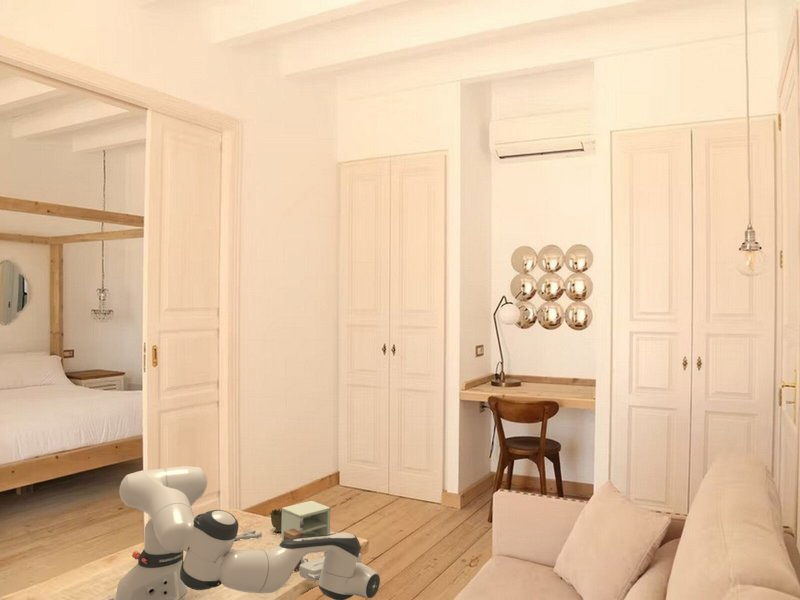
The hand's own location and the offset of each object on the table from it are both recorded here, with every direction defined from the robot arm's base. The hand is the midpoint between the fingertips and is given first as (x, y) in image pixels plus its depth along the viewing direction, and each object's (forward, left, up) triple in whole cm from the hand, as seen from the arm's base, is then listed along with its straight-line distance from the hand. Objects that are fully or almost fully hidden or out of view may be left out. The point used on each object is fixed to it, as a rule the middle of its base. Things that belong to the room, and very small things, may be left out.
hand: (314, 557), depth 215 cm
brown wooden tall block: (0, +12, -7) cm, 14 cm away
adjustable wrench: (-4, +49, -7) cm, 49 cm away
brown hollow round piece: (+16, +44, -7) cm, 48 cm away
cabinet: (+17, +28, -7) cm, 34 cm away
